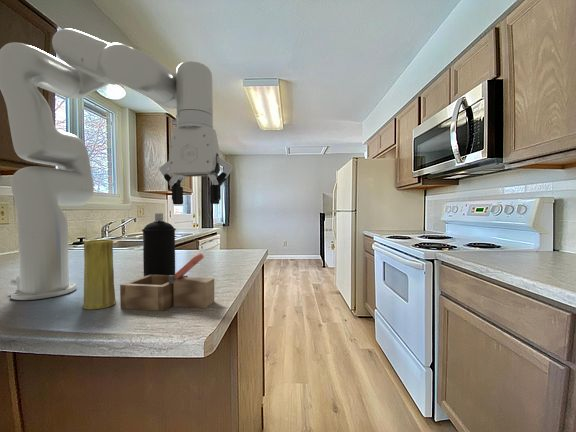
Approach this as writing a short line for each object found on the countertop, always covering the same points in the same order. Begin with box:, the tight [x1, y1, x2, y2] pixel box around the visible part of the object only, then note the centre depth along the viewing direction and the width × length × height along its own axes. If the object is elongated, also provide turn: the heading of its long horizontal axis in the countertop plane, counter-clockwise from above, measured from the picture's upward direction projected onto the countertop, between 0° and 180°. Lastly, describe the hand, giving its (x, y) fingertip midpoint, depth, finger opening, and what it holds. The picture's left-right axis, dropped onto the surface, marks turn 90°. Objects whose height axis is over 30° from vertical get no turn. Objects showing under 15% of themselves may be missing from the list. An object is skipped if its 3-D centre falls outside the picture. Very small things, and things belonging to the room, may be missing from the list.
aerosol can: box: [141, 212, 176, 277], centre depth 77 cm, size 8×8×20 cm
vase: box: [82, 238, 117, 311], centre depth 63 cm, size 6×6×14 cm
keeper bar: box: [174, 252, 205, 280], centre depth 64 cm, size 8×3×1 cm
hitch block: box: [119, 274, 215, 312], centre depth 65 cm, size 18×10×7 cm, turn 81°
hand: (196, 203), depth 64 cm, fingers open, 8 cm apart
